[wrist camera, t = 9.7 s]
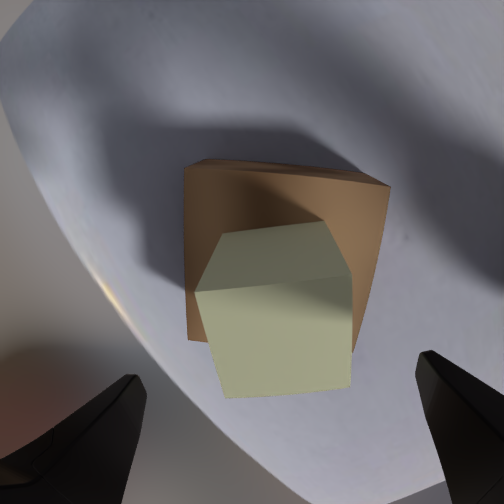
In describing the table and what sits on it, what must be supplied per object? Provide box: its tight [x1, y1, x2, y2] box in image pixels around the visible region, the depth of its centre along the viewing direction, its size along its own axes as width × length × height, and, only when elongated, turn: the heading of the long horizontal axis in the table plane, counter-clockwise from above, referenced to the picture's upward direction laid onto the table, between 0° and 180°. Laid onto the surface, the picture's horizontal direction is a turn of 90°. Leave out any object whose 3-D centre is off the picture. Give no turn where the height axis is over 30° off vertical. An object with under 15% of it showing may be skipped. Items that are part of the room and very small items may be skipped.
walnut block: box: [184, 159, 391, 353], centre depth 18 cm, size 10×10×5 cm
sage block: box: [194, 221, 353, 398], centre depth 13 cm, size 5×5×6 cm
